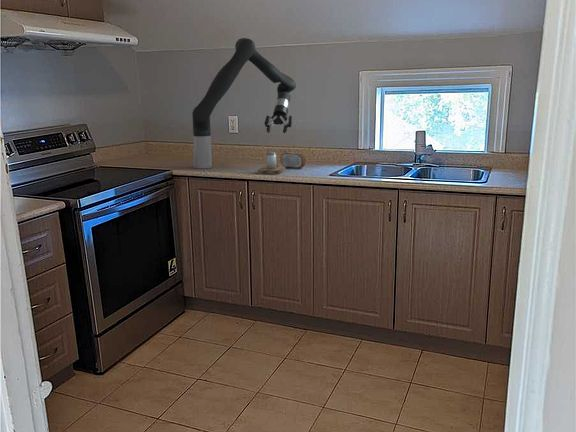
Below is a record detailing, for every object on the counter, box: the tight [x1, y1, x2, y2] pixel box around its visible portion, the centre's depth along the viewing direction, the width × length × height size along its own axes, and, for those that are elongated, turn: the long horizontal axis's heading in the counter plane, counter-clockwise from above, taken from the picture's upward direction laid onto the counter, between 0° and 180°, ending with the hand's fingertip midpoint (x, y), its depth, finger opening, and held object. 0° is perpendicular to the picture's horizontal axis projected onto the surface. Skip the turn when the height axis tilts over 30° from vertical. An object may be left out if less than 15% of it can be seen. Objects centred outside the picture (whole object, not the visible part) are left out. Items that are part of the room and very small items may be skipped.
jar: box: [266, 151, 277, 169], centre depth 276 cm, size 5×5×8 cm
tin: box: [280, 151, 306, 169], centre depth 291 cm, size 15×3×8 cm, turn 56°
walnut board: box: [257, 165, 286, 175], centre depth 277 cm, size 11×14×2 cm
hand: (276, 132), depth 282 cm, fingers open, 8 cm apart
